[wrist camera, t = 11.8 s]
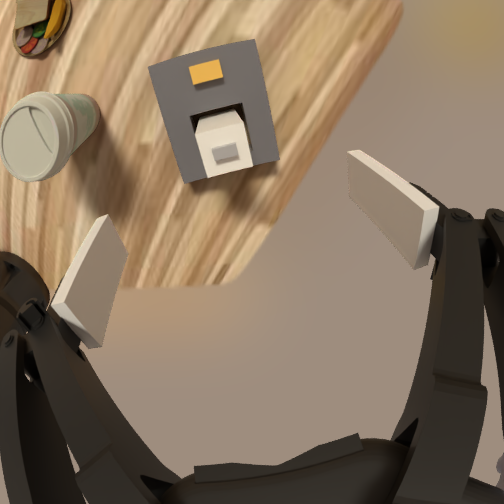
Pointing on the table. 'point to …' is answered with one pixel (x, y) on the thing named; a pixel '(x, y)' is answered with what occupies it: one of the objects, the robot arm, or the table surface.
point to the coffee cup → (45, 133)
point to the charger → (223, 143)
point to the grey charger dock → (213, 100)
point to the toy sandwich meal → (39, 24)
